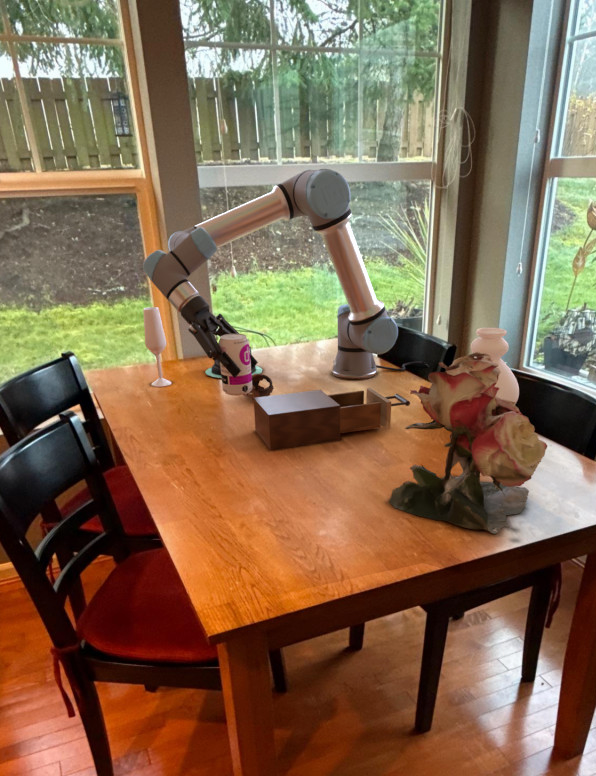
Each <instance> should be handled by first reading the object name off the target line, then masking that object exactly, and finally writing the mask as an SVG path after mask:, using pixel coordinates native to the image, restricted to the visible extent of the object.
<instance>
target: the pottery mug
mask: <svg viewBox="0 0 596 776" xmlns="http://www.w3.org/2000/svg"><path fill="white" fill-rule="evenodd" d="M263 380H265V381H266V382H267V383H269V384H268V386H267V387H264V386H261V385H259V384H260V382H262V381H263ZM252 388H253V389H252V390H251V391H250V393H248V394H245V396H249V395H250V394H253V396H252V398H251V399H252V401H253V402H254V400H253V398H256V397H265V396H271V394H272V393H273V391H274V389H275V388H274V385H273V381H272V379H271V378H270V377H269V376H268V375H266V374H262V373H260V374H254V375H252Z"/></svg>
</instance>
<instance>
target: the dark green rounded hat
mask: <svg viewBox="0 0 596 776" xmlns="http://www.w3.org/2000/svg"><path fill="white" fill-rule="evenodd" d="M249 347H250V353H251V354H252V347H251V346H250V345H249ZM213 361H214V360H213ZM204 373H205V374H206V375H207V376H209V377H212V378H218V379H219V378H220V379H222V378H221V367H220V361H219V360H218V359H217V360H216V361H214V363H213V364H212V366H211V367H209V368H207V369H206V370H205V372H204ZM262 373H263V368H262V367H260V366H258V365H255V367H254V368H253V369H251V374H252V375H254V374H262Z"/></svg>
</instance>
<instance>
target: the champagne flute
mask: <svg viewBox="0 0 596 776" xmlns="http://www.w3.org/2000/svg"><path fill="white" fill-rule="evenodd" d="M159 308H160V307H156V306H148V307H144V308H143V313H142V314H143V328H144V345H145V347H146V349H147V350H148V351H150V352H151V354H154V355H155V359H156V360H155V361H156V367H157V374H158V378H157V379H156V380H155V381H153V382H151V384H150V385H151V386H152V387H168V386H170V385H172V381H170V380H169V379H166V378H164V377H163V372H162V371H163V370H162V365H161V357H160V355H161V354H162V353H163V351H164V350H165V349H166V347H167V338H166V334H165V330H164V326H163V321H162V317H161V312H160V309H159Z"/></svg>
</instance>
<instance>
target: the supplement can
mask: <svg viewBox="0 0 596 776" xmlns="http://www.w3.org/2000/svg"><path fill="white" fill-rule="evenodd" d="M217 342H218V344H219V346H220V348H221V350H222V353H223V352H226V353H227V355H228V356H229V357H230V358H231V359H232V360H233V362H234V363H235V364H236V365H237V366H238V367H239V369H240V370H241V372H240V373H239V374H238V375H237V376H236V377H235V378H234V377H233V376H232V375H231V373H230V372H229V371H228V370H227V369H226V368H225V367H224V366H223V365H222V364H221V363H220V367H221V378H220V379H221V388H222V391H223V392H224V393H225V394H226V395H227V396H235V397H236V396H246V394H248V393H250V391H251V390H252V389H253V388H252V374H251V360H250V347H251V346H250V341H249V339H248V337H247V335H246V334H244V333H239V334H226V335H223V336H221V337H220V336H219V339H218V341H217ZM249 346H250V347H249ZM250 394H251V393H250ZM248 395H249V394H248Z"/></svg>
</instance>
